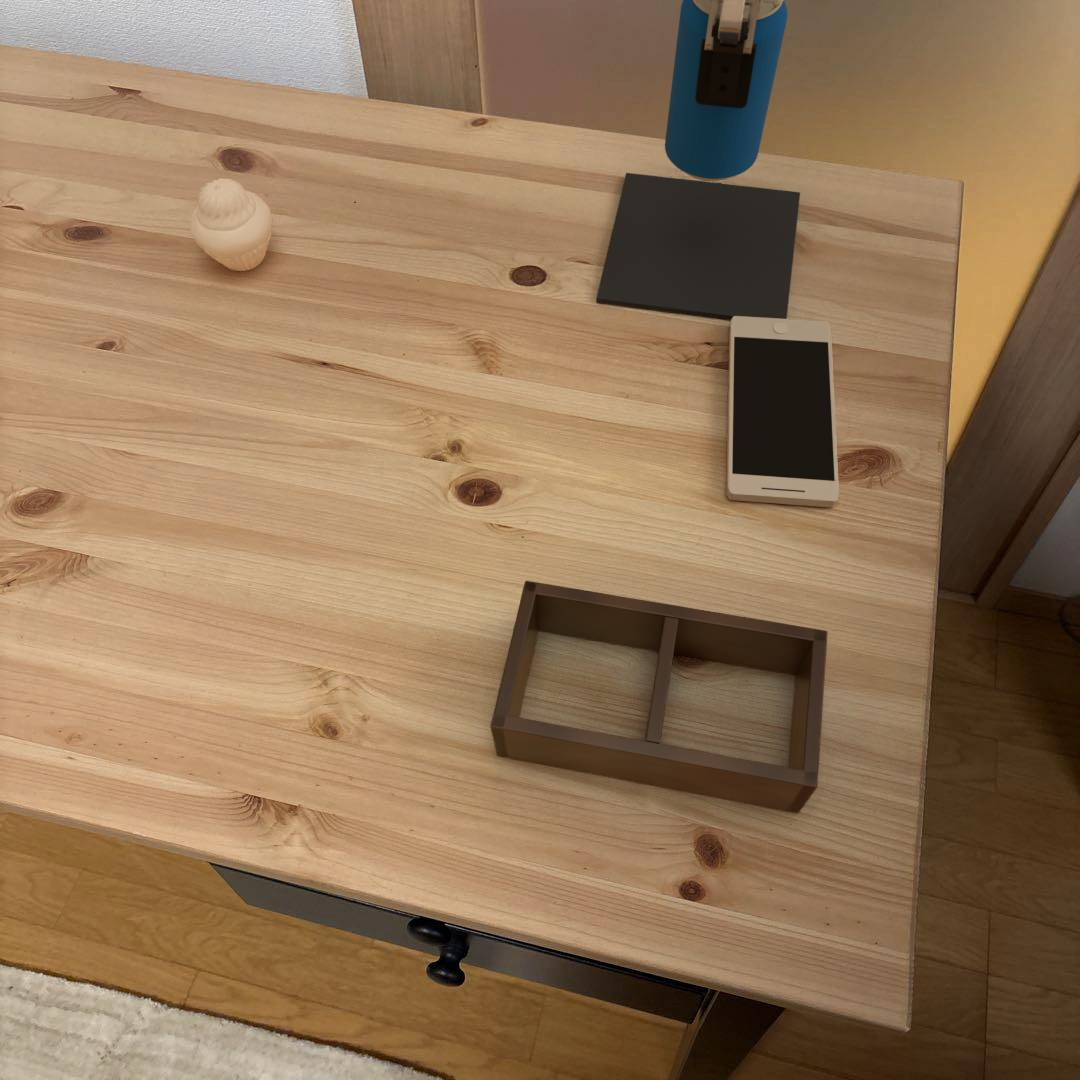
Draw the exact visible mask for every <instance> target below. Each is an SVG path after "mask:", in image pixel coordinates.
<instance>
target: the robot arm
mask: <svg viewBox="0 0 1080 1080" xmlns="http://www.w3.org/2000/svg"><path fill="white" fill-rule="evenodd" d="M760 1H761V0H711V4H710V12H709V19H708V26H707V34H706V39H702V45H701V53H700V62H699V70H698V79H697V88H696V96H695V100H696V102H697V103H698V104H701V105H711V106H721V107H731V108H744V107H745V106H746V105H747V101H748V95H749V89H750V83H751V77H752V71H753V65H754V59H755V53H756V47H757V44H753V39H754V33H755V27H756V20H757V14H758V8H759V3H760ZM783 1H785V0H763V3H774V6H778V5H779V4H781V3H782V2H783ZM720 3H722V9H721V15H720V19H718V16H719V9H720ZM745 5H750V8H749V14H748V21H747V25H746V22H742V21H743V14H744V7H745Z"/></svg>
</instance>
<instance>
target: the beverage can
mask: <svg viewBox="0 0 1080 1080" xmlns="http://www.w3.org/2000/svg"><path fill="white" fill-rule="evenodd" d="M785 1H786V0H784V1H783V2H782V3H781V4H779V5H778V6H774V3H763V0H761V1H760V3H759V8H758V14H757V20H756V27H755V33H754V39H753V44H757V47H756V53H755V59H754V65H753V71H752V77H751V83H750V89H749V95H748V101H747V105H746V106H745V107H744V108H731V107H721V106H711V105H701V104H698V103H697V102H696V100H695V96H696V88H697V79H698V70H699V62H700V53H701V45H702V39H706V34H707V26H708V19H709V12H710V4H711V0H682V2H681V5H680V10H679V11H680V12H679V20H678V30H677V36H676V37H677V38H676V46H675V55H674V64H673V72H672V81H671V89H670V96H669V97H670V98H669V104H668V105H669V106H668V114H667V122H666V131H665V138H664V139H665V140H664V150H665V154H666V157H667V158H668V160H669V161H670V162H671V163H672V165H673V166H674V167H675V168H677V169H678V170H679V171H681V172H683V173H684V174H686V175H688V176H689V177H690V178H691V177H692V178H694V179H696V180H699V181H705V182H717V181H724V180H728V179H731V178H734V177H738V176H739V175H742V174H743V173H745V172H747V171H748V170H749V169H750V168H751V167H752V166H753V165H754V164H755V162H756V160H758V159H757V158H758V156H759V151H760V150H759V149H760V146H761V141H762V137H763V133H764V128H765V125H766V124H765V123H766V119H767V114H768V109H769V105H770V100H771V96H772V91H773V86H774V82H775V77H776V72H777V67H778V62H779V59H780V54H781V50H782V44H783V39H784V35H785V31H786V30H785V29H786V25H787V21H788V8H787V4H786V2H785ZM749 8H750V5H745V7H744V14H743V21H742V22H746V25H747V21H748V14H749ZM721 9H722V3H720V9H719V16H718V19H720V15H721Z"/></svg>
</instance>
